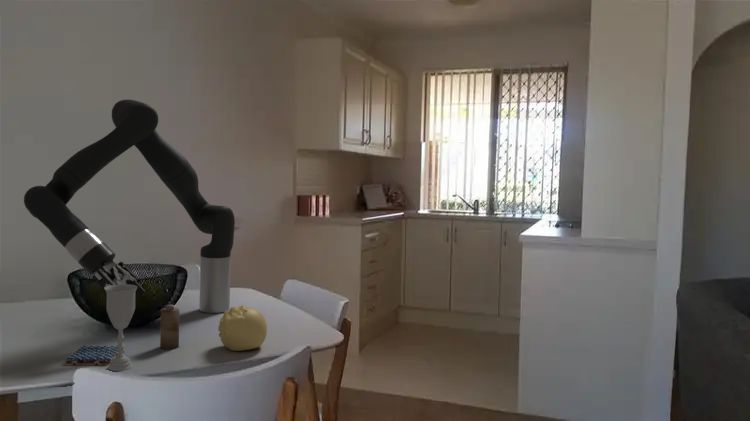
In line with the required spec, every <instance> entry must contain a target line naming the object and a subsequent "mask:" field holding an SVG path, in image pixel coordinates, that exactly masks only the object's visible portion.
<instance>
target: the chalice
mask: <svg viewBox="0 0 750 421" xmlns="http://www.w3.org/2000/svg"><path fill="white" fill-rule="evenodd" d="M137 287H138V286H136V285H129V284H120V285H111V286H107V287H105V288H104V289H105V291H106V292H105V291H104V292H105V293H106V309H105V310H106V313H107V315H108V319H109V320H110V322H111V325H112V327H113V328H114V329H116V330H117V332H118V334H117V337H116V339H117V341H118V342H117V343H118V344H116V346H115V347H118V354H117V356H115V357H113V359H112V361H111V363H109V364H110V365H108V367H107V369H108V370H109V371H112V372H123V371H127V370H130V369H132V368H133V365H132V362H131V360H130V357H129V356H128V355H125V354H124V353H123V350H124V347H125V346H126V345H125V343H124V342H123V341H124V339H125V336H124V329H126V328H128V326H129V324H130V323H131V319H132V318H133V316H134V313H135V310H136V295H135V291H136V289H137ZM104 289H103V290H104Z"/></svg>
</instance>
